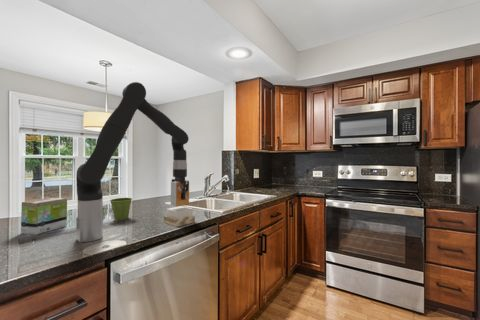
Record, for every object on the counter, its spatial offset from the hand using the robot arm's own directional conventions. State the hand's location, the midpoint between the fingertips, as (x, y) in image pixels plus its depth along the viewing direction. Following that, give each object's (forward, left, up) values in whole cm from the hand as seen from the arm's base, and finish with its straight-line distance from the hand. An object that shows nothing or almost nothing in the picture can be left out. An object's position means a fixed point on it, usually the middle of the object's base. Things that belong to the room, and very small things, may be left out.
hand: (179, 198), depth 131 cm
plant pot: (-20, +31, -13) cm, 39 cm away
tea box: (-54, +35, -13) cm, 66 cm away
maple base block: (0, 0, -14) cm, 14 cm away
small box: (0, 0, -4) cm, 4 cm away
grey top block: (0, 0, -10) cm, 10 cm away
